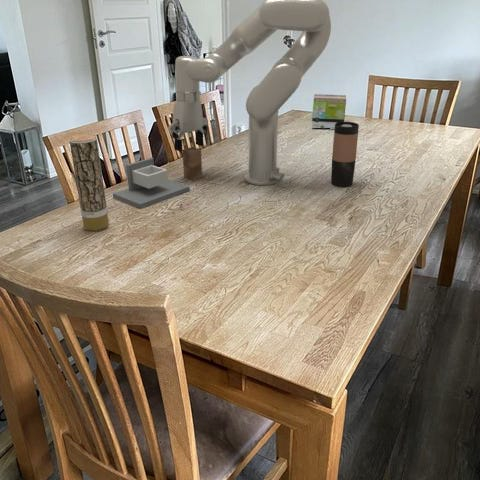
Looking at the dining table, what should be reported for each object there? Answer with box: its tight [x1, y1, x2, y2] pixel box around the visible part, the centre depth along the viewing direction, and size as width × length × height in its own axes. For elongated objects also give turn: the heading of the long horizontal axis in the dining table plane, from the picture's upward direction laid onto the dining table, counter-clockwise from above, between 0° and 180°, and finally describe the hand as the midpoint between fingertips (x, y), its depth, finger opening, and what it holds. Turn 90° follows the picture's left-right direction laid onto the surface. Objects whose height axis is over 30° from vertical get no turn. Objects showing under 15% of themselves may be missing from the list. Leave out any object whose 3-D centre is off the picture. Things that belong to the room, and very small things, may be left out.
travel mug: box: [330, 121, 360, 188], centre depth 161 cm, size 8×8×20 cm
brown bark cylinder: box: [68, 133, 110, 232], centre depth 131 cm, size 7×7×25 cm
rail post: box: [181, 146, 203, 181], centre depth 171 cm, size 4×4×10 cm
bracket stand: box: [112, 157, 191, 210], centre depth 157 cm, size 14×20×10 cm
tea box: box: [311, 93, 347, 130], centre depth 233 cm, size 15×10×15 cm, turn 80°
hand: (189, 147), depth 169 cm, fingers open, 9 cm apart
